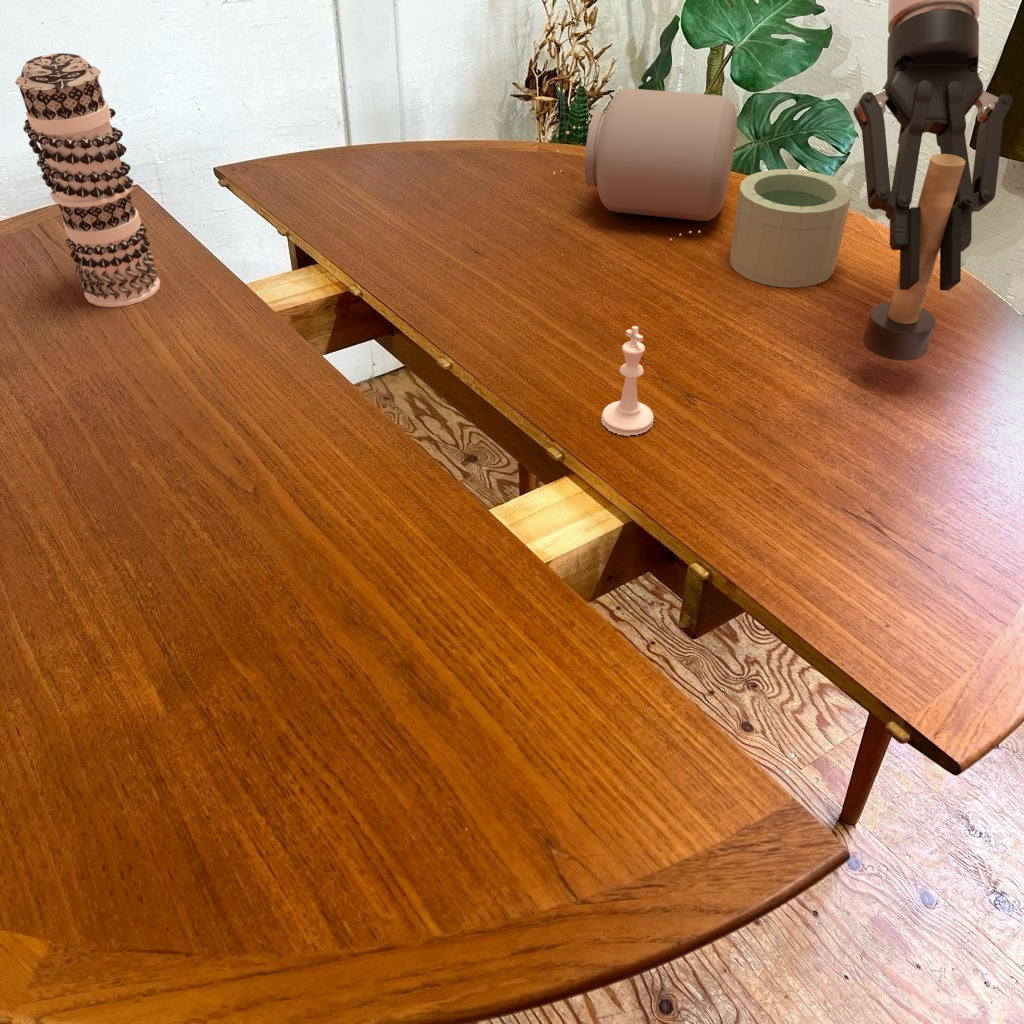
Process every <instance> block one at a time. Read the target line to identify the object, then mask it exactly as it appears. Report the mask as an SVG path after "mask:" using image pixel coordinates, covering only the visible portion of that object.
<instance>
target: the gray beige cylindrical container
mask: <svg viewBox="0 0 1024 1024" xmlns="http://www.w3.org/2000/svg"><path fill="white" fill-rule="evenodd" d="M737 197H738V198H737V204H736V211H735V217H734V225H733V226H734V227H733V232H732V237H731V238H732V239H731V246H730V252H729V264H730V267H731V268H732V269H733V270H734V271H735V272H736V273H737V274H739V276H742V277H743V278H745V279H747V280H749V281H752V282H754V283H758V284H761V285H764V286H770V287H775V288H785V289H787V288H788V289H789V288H790V289H791V288H793V289H795V288H806V287H811V286H815V285H819V284H821V283H824V282H825V281H827V280H829V279H830V278H831V277H832V276H833V274H834V272H835V268H836V266H837V261H838V258H839V254H840V250H841V244H842V239H843V235H844V231H845V227H846V222H847V218H848V213H849V210H850V205H851V201H852V191H851V189H850V188H849V187H848V186H847V185H846V184H845V183H843V182H842V181H840V180H838V179H837V178H835V177H832V176H830V175H827V174H823V173H820V172H815V171H812V170H811V171H810V170H805V169H796V168H795V169H794V168H779V169H778V168H777V169H768V170H762V171H758V172H755V173H752V174H749V175H747V176H746V177H745V178H744V179H743V180H741V182H740V184H739V190H738V196H737Z"/></svg>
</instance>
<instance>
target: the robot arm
mask: <svg viewBox="0 0 1024 1024" xmlns="http://www.w3.org/2000/svg"><path fill="white" fill-rule="evenodd" d="M887 9H888V11H887V12H888V13H887V32H888V34H889V36H888V38H887V59H886V60H887V61H886V62H887V63H886V64H887V65H886V67H887V68H886V77H887V78H886V81H885V84H884V86H883V87H882V90H879V91H876V92H874V93H873V92H871V91H866V92H864V93H863V94H862V95H861V97H860V98H859V100H858V102H857V103H856V105H855V107H854V108H853V115H854V117H855V119H856V121H857V124H858V125H859V128H860V130H861V136H862V137H861V138H862V148H863V161H864V162H863V163H864V171H865V183H866V194H867V195H866V196H867V205H868V207H869V208H870V209H871V210H875V211H876V210H880V211H884V212H885V217H886V219H888V220H889V246H890V249H891V251H899V271H900V290H908V289H910V288H911V287H912V286H913V285H914V284H916V283H917V282H918V281H919V261H920V207H917V206H915V207H914V206H913V207H912V206H911V207H910V205H911V203H912V200H913V194H914V187H915V182H916V175H917V169H918V164H919V157H920V151H921V145H922V140H923V139H922V138H923V134H924V133H925V134H926V133H929V134H933V135H935V139H936V145H937V146H938V147H939V150H940V154H951V155H955V156H959V157H961V158H963V159H964V160H965V166H964V169H963V173H962V176H961V179H960V183H959V186H958V189H957V193H956V196H955V199H954V203H953V206H952V209H951V213H950V216H949V219H948V223H947V226H946V229H945V233H944V236H943V239H942V243H941V246H940V249H939V291H944V292H945V291H946V292H947V291H950V290H951V289H953V288H954V287H955V286H957V285H958V284H959V283H961V279H962V252H964V251H965V250H966V249H968V248H969V247H970V245H971V243H972V229H973V227H972V221H973V220H972V219H973V218H972V217H973V213H976V212H977V213H978V212H980V211H982V210H983V209H984V208H985V207H986V206H987V205H989V204H990V203H991V202H992V201H993V200H994V199H995V197H996V191H997V183H998V175H999V164H1000V155H1001V149H1002V148H1001V147H1002V139H1003V138H1002V137H1003V130H1004V129H1003V128H1004V121H1005V118H1006V116H1007V114H1008V112H1009V110H1010V108H1011V106H1012V104H1013V102H1014V99H1013V97H1012V95H1010V94H1009V93H1003V94H1001V95H1000V96H997V95H995V94H992V93H991V92H988V91H987V90H984V83H983V81H982V79H981V77H980V75H979V72H978V71H979V58H980V57H979V55H980V23H979V21H978V20H979V16H980V0H888V8H887ZM973 106H975V108H977V114H976V116H977V117H976V118H977V121H978V122H979V123H980V124H979V127H978V130H977V135H976V142H975V143H976V144H975V153H974V162H973V171H972V175H971V168H970V161H969V154H968V147H967V141H966V129H967V121H966V116H967V114H968V113H969V112H970V110H971V109H972V108H973ZM886 107H887V108H886ZM887 109H888V110H889V111H890V113H891V114H892V115H893V116H894V119H896V121H897V123H899V125H900V128H899V133H898V139H897V144H898V148H897V153H896V161H895V167H894V171H893V172H894V173H893V180H892V185H891V182H890V181H891V179H890V168H889V167H890V166H889V158H888V157H889V156H888V146H887V135H886V125H885V124H886V123H885V117H884V114H885V112H886V110H887Z"/></svg>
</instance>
